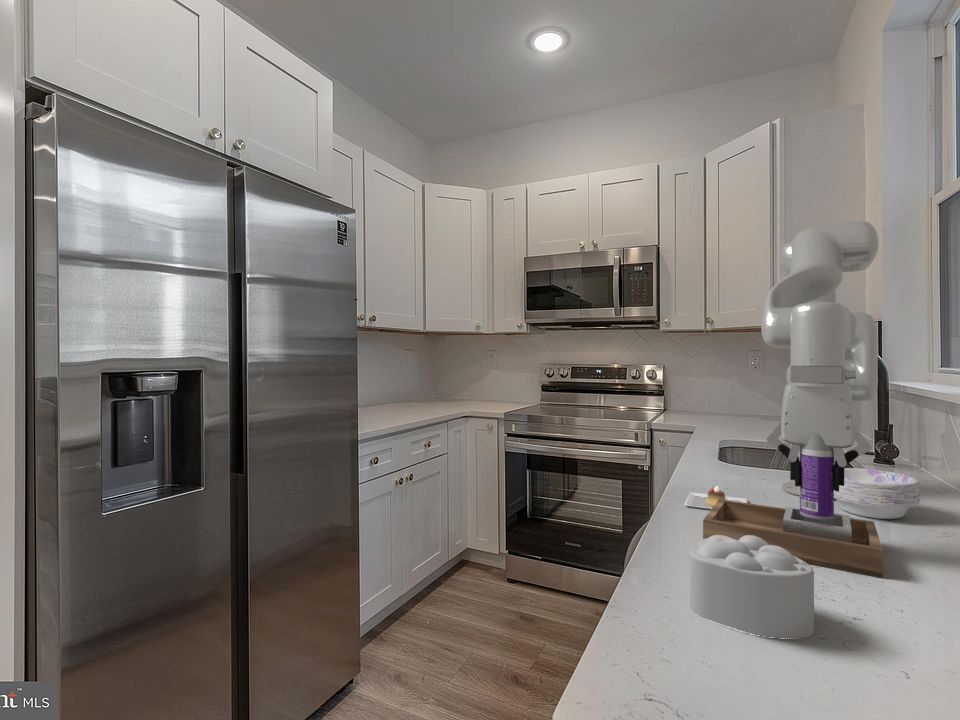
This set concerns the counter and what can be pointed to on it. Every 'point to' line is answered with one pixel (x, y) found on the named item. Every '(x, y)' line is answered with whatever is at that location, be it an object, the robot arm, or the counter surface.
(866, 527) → the walled tray
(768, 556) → the lumpy-topped squat cylinder
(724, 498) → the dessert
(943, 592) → the counter surface
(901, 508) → the paper bowls
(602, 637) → the counter surface
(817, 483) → the container
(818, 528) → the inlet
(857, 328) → the robot arm
